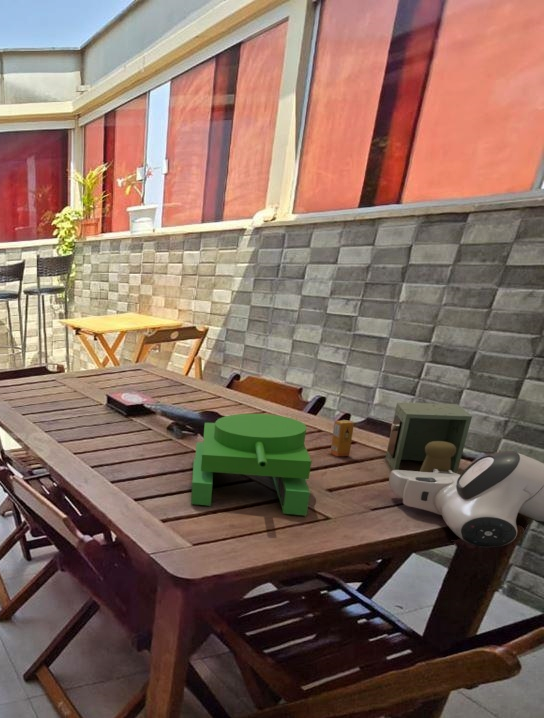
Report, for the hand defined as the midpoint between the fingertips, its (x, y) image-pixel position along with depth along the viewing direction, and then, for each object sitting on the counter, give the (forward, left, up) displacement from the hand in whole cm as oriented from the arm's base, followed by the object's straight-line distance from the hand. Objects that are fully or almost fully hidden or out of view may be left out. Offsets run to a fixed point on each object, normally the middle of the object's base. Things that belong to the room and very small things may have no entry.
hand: (441, 472), depth 114 cm
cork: (0, -4, -5) cm, 6 cm away
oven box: (0, -16, -5) cm, 17 cm away
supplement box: (+16, -21, -5) cm, 27 cm away
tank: (+39, +11, -5) cm, 41 cm away
